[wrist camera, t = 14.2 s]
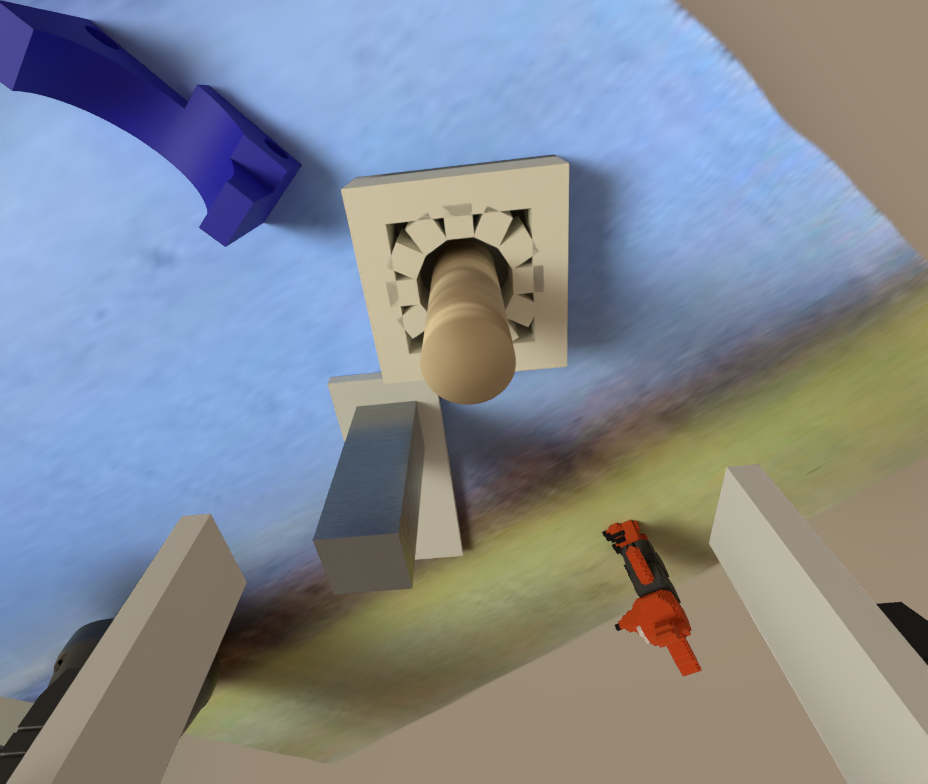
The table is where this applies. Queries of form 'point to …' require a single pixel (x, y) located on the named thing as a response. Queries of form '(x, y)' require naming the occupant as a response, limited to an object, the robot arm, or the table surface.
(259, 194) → the blue curved cradle
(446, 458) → the strip
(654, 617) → the toy animal
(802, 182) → the table surface
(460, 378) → the beech dowel
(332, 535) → the square bar
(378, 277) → the socket block
